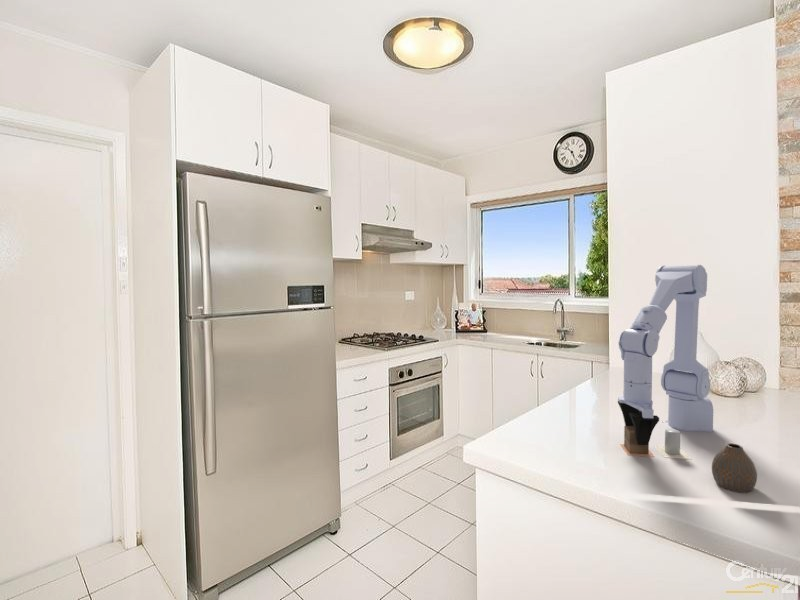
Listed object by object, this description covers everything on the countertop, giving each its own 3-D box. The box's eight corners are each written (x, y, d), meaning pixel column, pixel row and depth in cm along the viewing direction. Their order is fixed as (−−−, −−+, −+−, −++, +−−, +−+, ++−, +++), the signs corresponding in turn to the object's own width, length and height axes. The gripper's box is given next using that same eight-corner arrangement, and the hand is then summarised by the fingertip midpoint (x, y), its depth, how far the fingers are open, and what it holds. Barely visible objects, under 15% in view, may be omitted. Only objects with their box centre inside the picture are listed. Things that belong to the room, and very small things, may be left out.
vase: (702, 481, 85) (703, 439, 84) (734, 479, 86) (735, 437, 85) (732, 500, 78) (733, 454, 78) (766, 497, 79) (767, 452, 78)
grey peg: (676, 450, 98) (677, 429, 97) (682, 455, 95) (682, 434, 95) (662, 449, 98) (662, 428, 98) (667, 454, 96) (668, 433, 95)
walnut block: (642, 447, 100) (642, 426, 100) (648, 454, 96) (648, 433, 96) (624, 445, 101) (624, 425, 100) (629, 453, 97) (629, 432, 96)
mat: (678, 449, 100) (678, 445, 100) (693, 464, 92) (694, 461, 92) (618, 445, 103) (618, 442, 103) (628, 460, 95) (628, 456, 95)
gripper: (610, 372, 105) (610, 425, 106) (628, 389, 91) (627, 449, 92) (641, 373, 104) (640, 426, 104) (664, 390, 89) (663, 451, 90)
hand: (636, 437), depth 98 cm, fingers open, 7 cm apart
